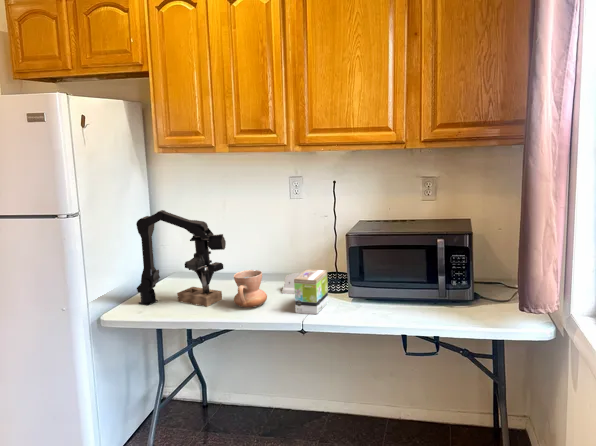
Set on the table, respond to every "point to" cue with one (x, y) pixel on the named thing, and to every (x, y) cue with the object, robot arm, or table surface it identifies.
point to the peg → (204, 283)
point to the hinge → (289, 284)
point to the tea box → (311, 291)
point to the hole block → (199, 296)
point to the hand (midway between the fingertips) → (205, 284)
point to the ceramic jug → (249, 289)
